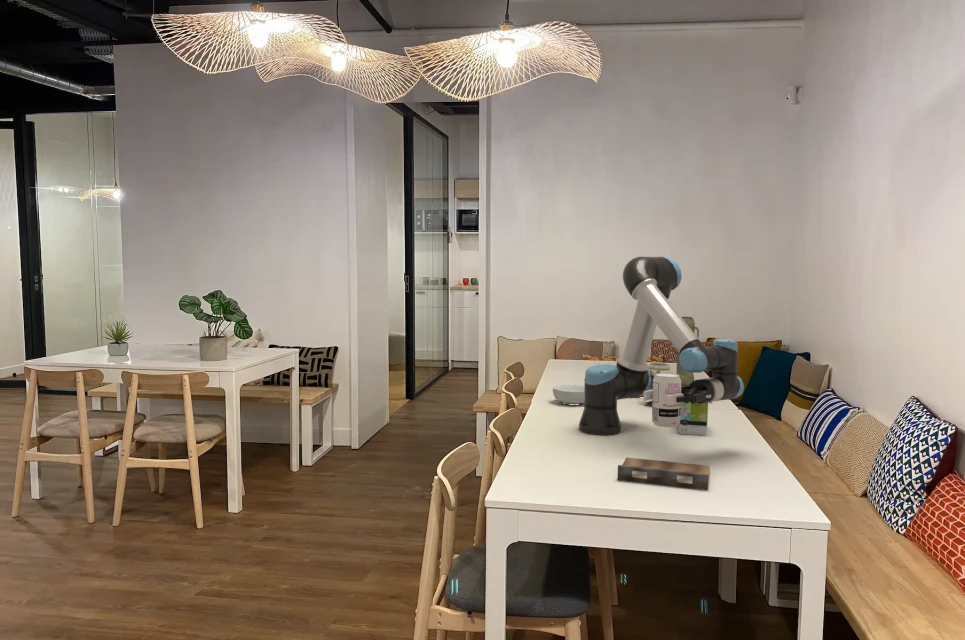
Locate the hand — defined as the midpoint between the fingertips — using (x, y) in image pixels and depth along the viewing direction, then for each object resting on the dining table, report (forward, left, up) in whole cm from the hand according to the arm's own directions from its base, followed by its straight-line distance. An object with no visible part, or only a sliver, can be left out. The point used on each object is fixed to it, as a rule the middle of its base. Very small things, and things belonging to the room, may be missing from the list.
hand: (655, 398), depth 208 cm
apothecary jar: (-8, +95, -21) cm, 98 cm away
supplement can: (+3, +4, -9) cm, 10 cm away
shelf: (+4, -8, -21) cm, 23 cm away
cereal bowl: (-43, +85, -21) cm, 98 cm away
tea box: (+8, +53, -21) cm, 58 cm away
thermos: (0, +142, -21) cm, 144 cm away
